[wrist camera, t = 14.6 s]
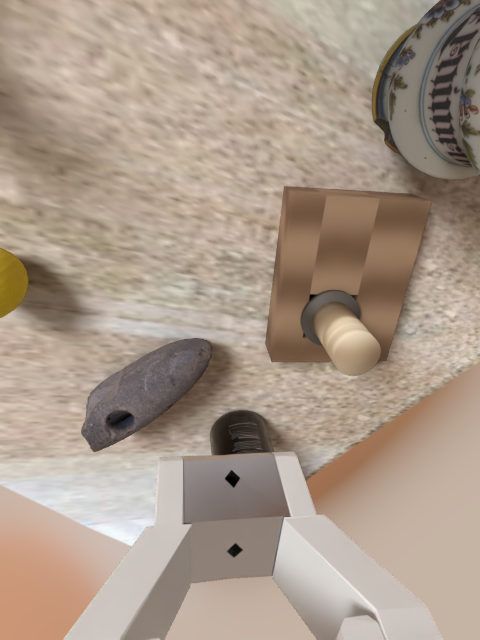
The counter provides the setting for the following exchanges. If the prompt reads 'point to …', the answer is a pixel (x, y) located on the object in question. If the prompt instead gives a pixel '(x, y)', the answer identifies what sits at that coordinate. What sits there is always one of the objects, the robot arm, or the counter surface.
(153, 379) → the perforated stone tool
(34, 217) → the counter surface
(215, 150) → the counter surface
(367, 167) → the counter surface
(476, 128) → the apothecary jar
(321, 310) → the maple peg
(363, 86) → the counter surface
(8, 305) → the lemon
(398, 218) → the walnut board
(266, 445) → the supplement bottle
